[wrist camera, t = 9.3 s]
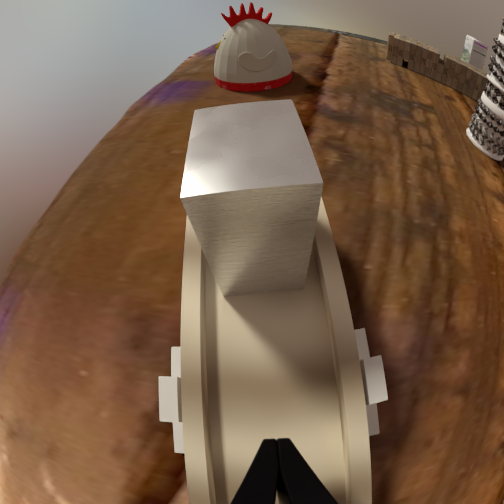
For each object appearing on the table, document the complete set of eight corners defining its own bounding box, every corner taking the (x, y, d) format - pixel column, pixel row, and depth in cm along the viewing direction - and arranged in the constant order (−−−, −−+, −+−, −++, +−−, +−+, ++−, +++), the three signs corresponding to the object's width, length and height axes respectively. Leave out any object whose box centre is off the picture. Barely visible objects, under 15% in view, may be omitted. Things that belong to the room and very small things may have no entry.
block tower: (384, 64, 49) (490, 109, 38) (387, 35, 41) (499, 82, 31) (387, 58, 52) (485, 98, 42) (390, 31, 45) (493, 73, 34)
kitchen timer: (213, 70, 46) (201, 5, 33) (280, 61, 46) (277, -2, 33) (219, 97, 38) (205, 13, 26) (303, 86, 39) (302, 5, 26)
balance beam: (344, 557, 8) (364, 596, 3) (228, 567, 9) (211, 608, 3) (303, 211, 24) (308, 156, 19) (208, 220, 24) (191, 169, 19)
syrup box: (478, 84, 47) (489, 47, 34) (463, 77, 48) (473, 38, 35) (471, 77, 49) (481, 41, 37) (457, 70, 50) (466, 33, 38)
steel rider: (303, 288, 15) (323, 183, 8) (223, 296, 15) (180, 197, 8) (289, 209, 18) (291, 99, 11) (222, 216, 18) (194, 110, 11)
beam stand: (374, 432, 15) (416, 441, 9) (179, 450, 15) (138, 466, 10) (360, 331, 19) (393, 300, 13) (175, 349, 19) (137, 325, 14)
